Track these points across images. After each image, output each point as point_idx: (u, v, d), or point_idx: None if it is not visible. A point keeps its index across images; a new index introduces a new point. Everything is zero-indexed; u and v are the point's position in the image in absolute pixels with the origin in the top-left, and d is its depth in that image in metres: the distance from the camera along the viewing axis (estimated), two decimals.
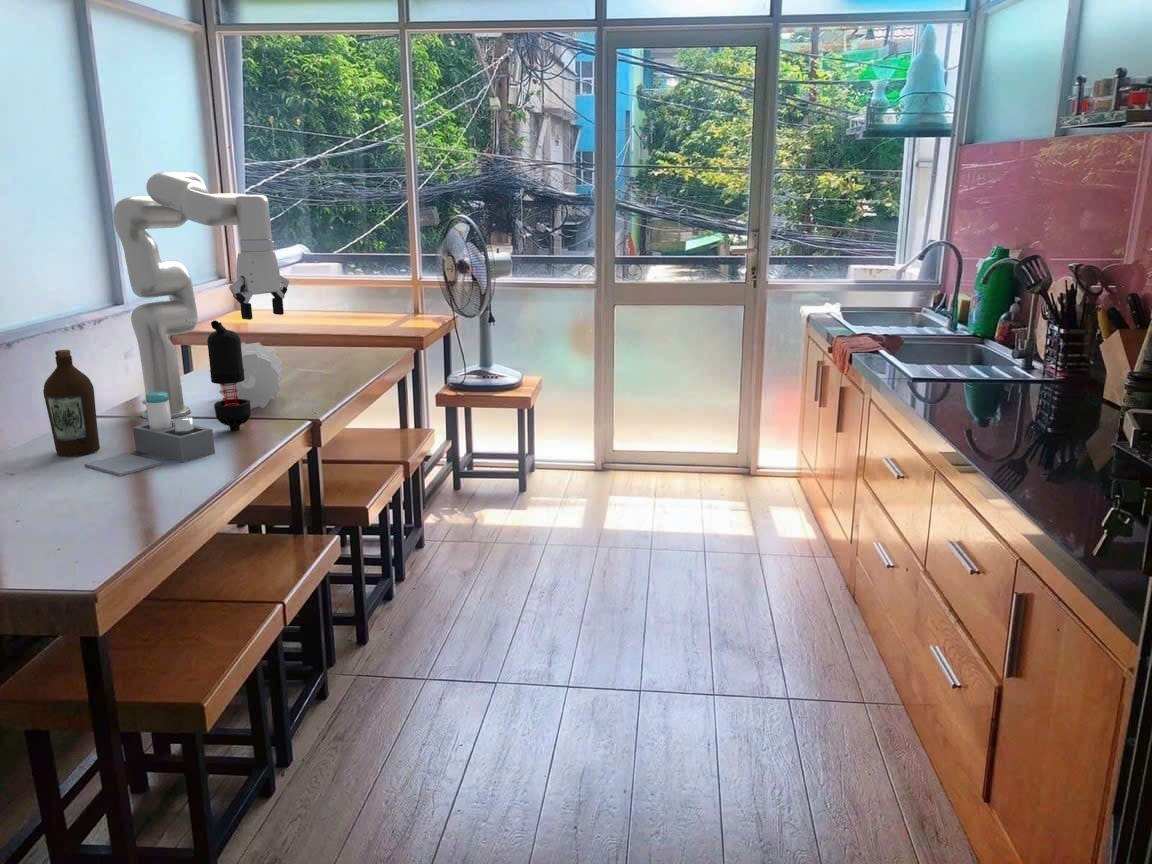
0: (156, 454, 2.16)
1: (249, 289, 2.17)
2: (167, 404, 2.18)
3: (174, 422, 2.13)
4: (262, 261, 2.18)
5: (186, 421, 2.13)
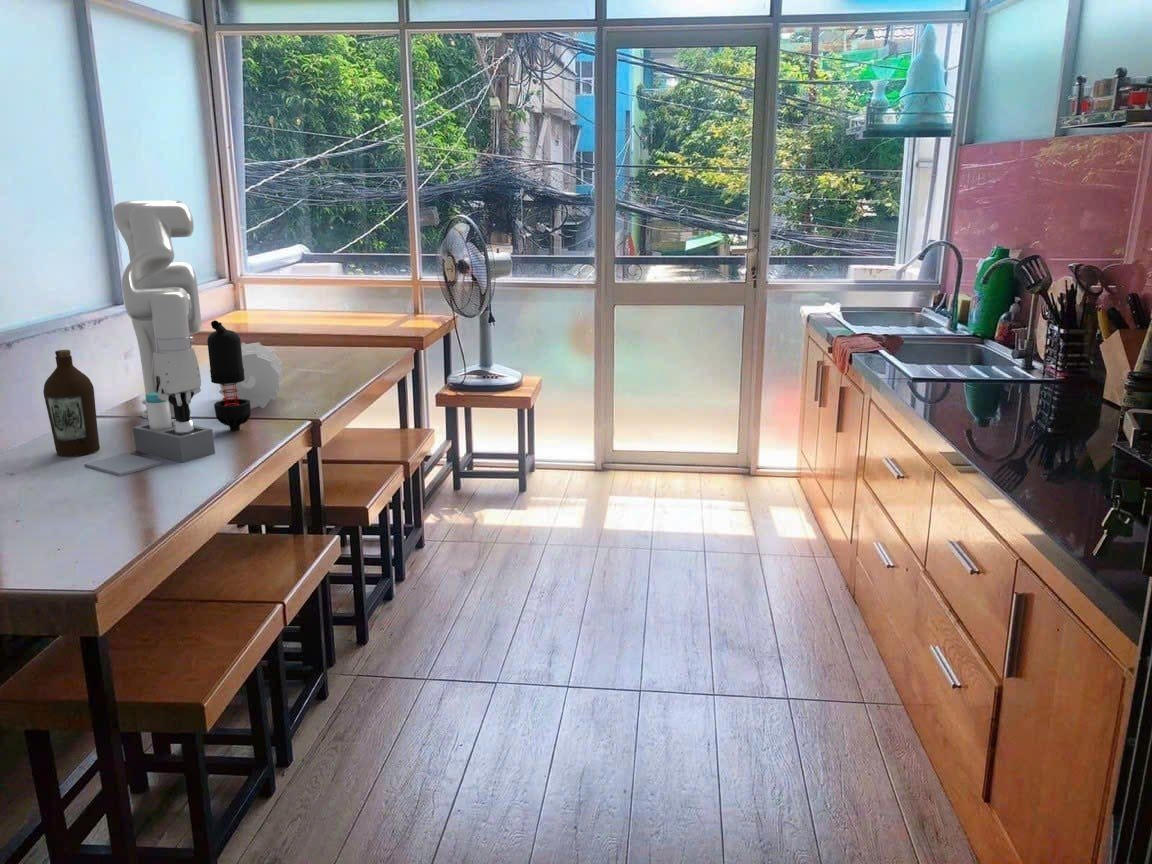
0: (156, 454, 2.16)
1: (165, 390, 2.07)
2: (167, 404, 2.18)
3: (174, 424, 2.13)
4: (179, 360, 2.08)
5: (186, 423, 2.13)
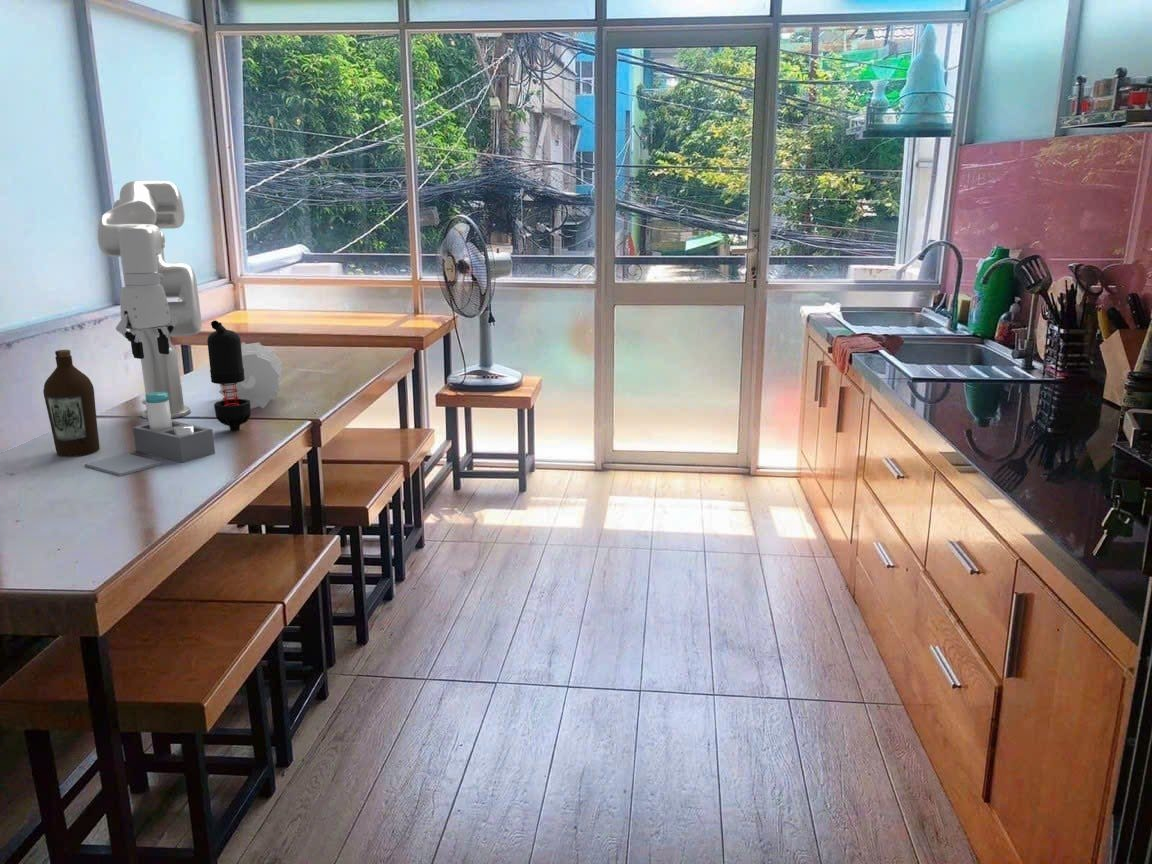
0: (156, 454, 2.16)
1: (133, 325, 2.08)
2: (167, 404, 2.18)
3: (175, 430, 2.13)
4: (147, 295, 2.09)
5: (187, 429, 2.13)
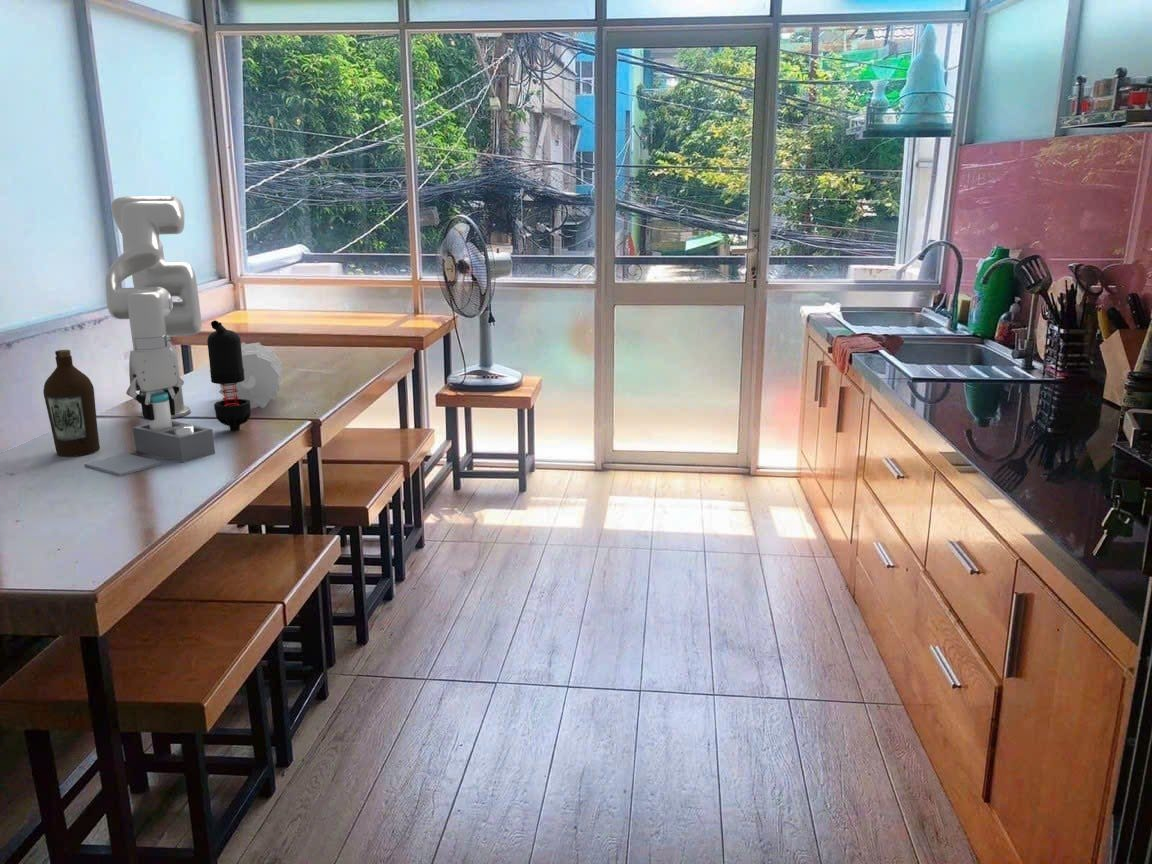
0: (156, 454, 2.16)
1: (141, 387, 2.12)
2: (167, 404, 2.18)
3: (175, 430, 2.13)
4: (155, 358, 2.13)
5: (187, 429, 2.13)
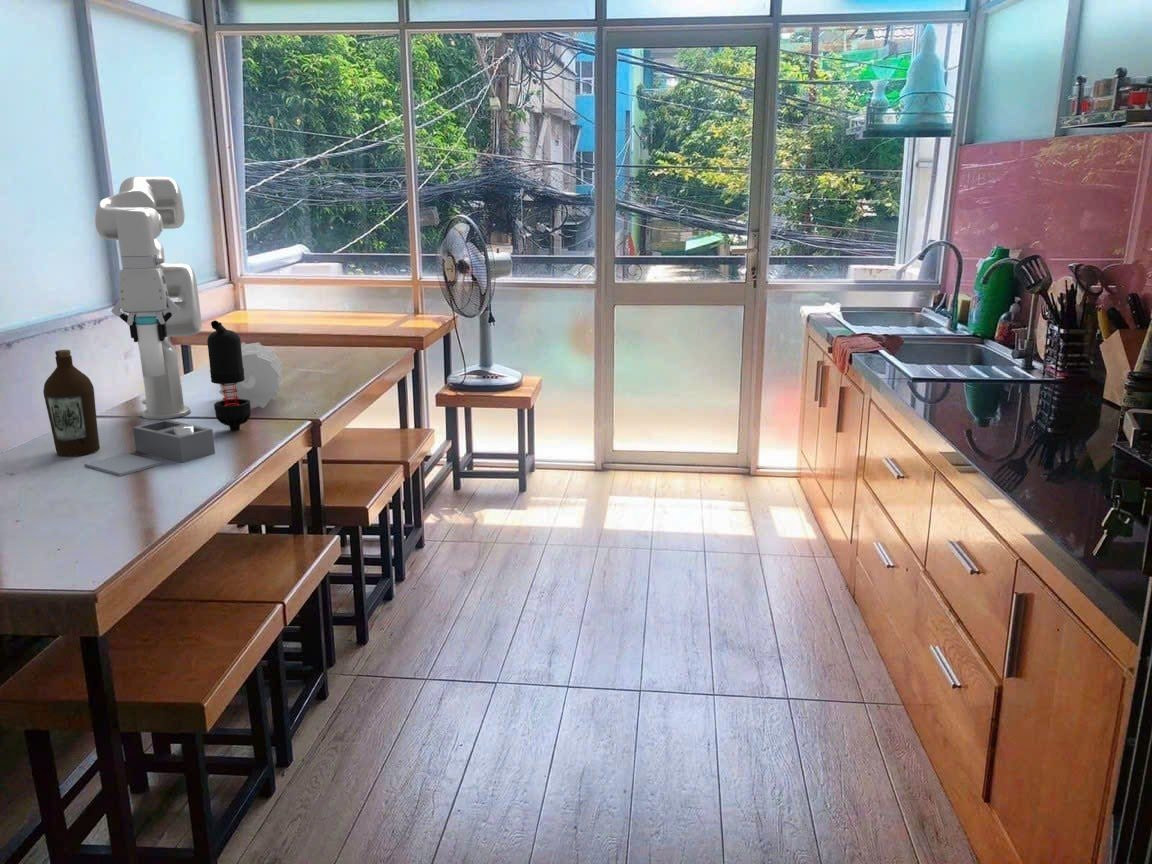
0: (156, 454, 2.16)
1: (121, 307, 2.09)
2: (150, 328, 2.11)
3: (175, 430, 2.13)
4: (135, 279, 2.08)
5: (187, 429, 2.13)
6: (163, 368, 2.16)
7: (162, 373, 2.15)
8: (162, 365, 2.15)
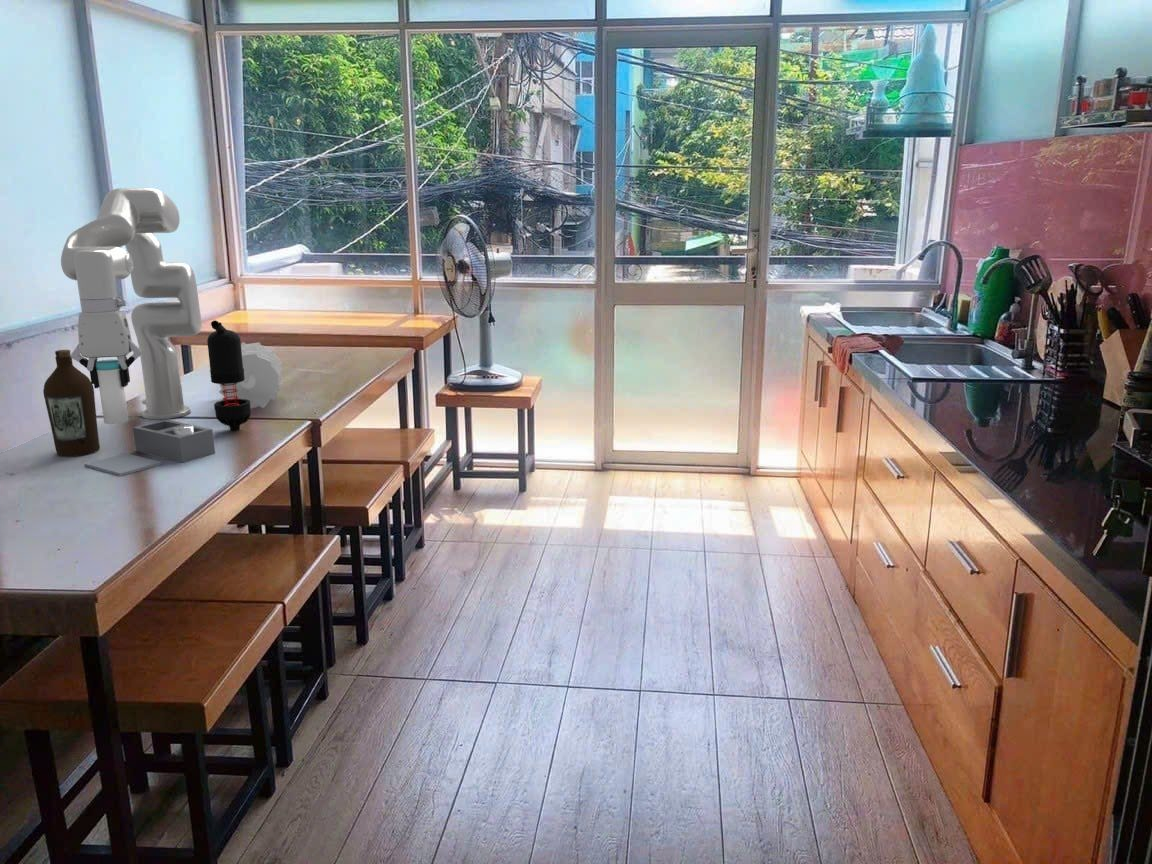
0: (156, 454, 2.16)
1: (80, 352, 1.99)
2: (111, 374, 2.01)
3: (175, 430, 2.13)
4: (95, 323, 1.97)
5: (187, 429, 2.13)
6: (126, 415, 2.05)
7: (125, 420, 2.05)
8: (125, 412, 2.05)
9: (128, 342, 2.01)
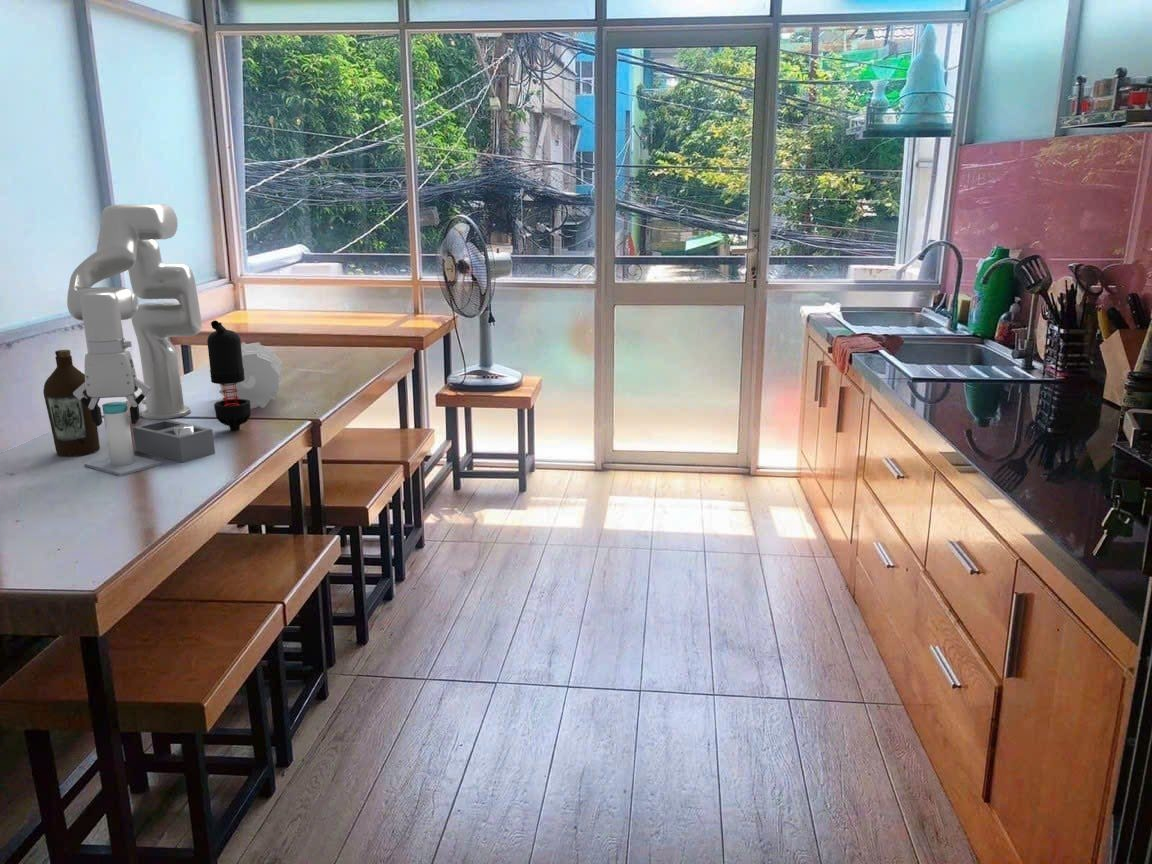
0: (156, 454, 2.16)
1: (87, 392, 2.01)
2: (118, 417, 2.04)
3: (175, 430, 2.13)
4: (102, 364, 2.00)
5: (187, 429, 2.13)
6: (132, 456, 2.08)
7: (131, 461, 2.08)
8: (131, 453, 2.08)
9: (134, 382, 2.04)
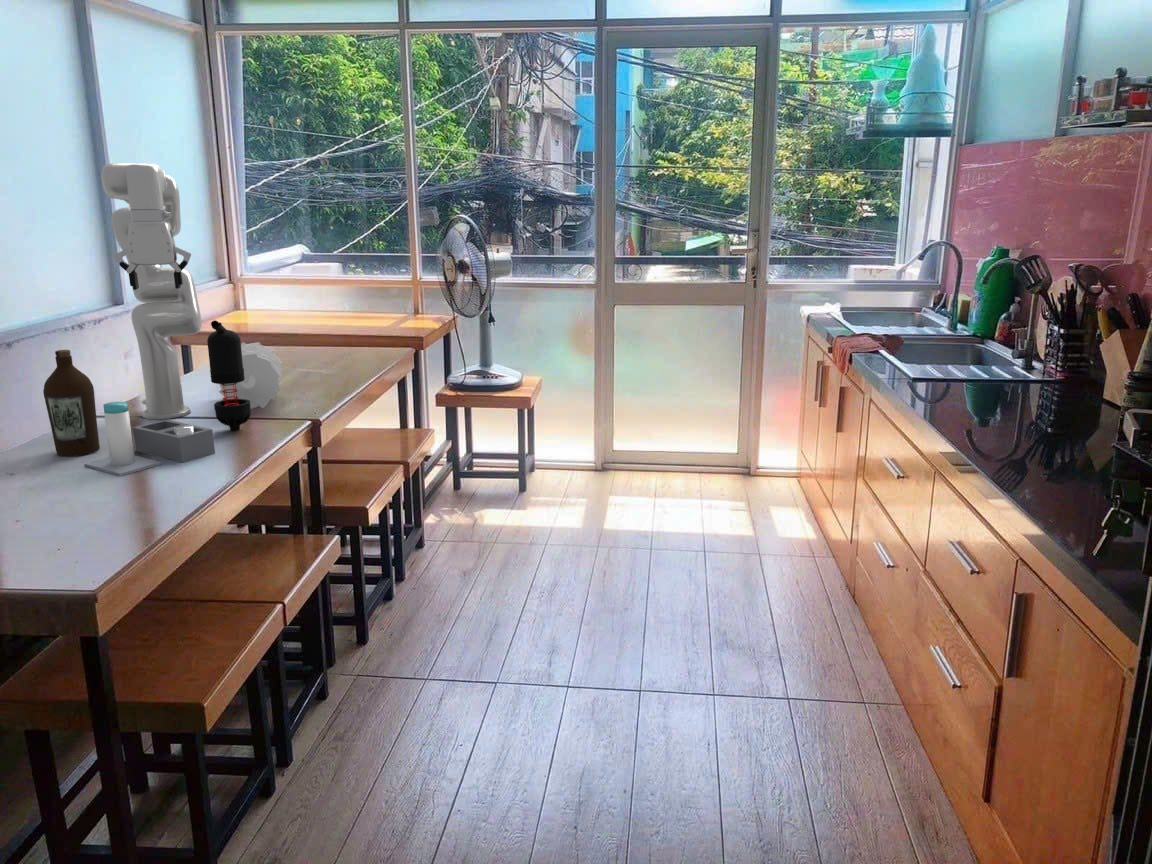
0: (156, 454, 2.16)
1: (130, 259, 2.16)
2: (119, 417, 2.04)
3: (175, 430, 2.13)
4: (144, 232, 2.15)
5: (187, 429, 2.13)
6: (132, 456, 2.08)
7: (131, 461, 2.08)
8: (131, 453, 2.08)
9: (173, 251, 2.19)
